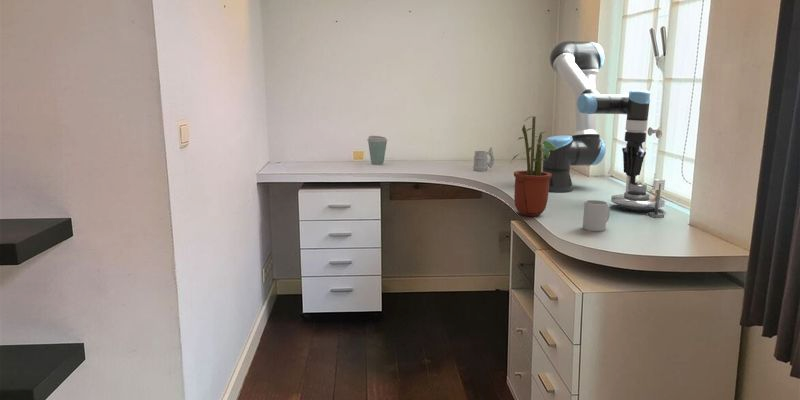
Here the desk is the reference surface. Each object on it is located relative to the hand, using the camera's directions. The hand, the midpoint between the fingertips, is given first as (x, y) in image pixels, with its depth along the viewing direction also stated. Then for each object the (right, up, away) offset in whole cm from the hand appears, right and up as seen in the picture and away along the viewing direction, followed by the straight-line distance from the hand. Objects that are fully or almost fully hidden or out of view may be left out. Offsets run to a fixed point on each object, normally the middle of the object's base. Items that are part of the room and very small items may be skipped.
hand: (629, 192), depth 238 cm
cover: (+1, -3, -5) cm, 5 cm away
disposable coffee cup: (-102, +16, +95) cm, 140 cm away
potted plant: (-43, -8, -17) cm, 46 cm away
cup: (-25, -13, -37) cm, 46 cm away
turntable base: (+1, -6, -5) cm, 8 cm away
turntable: (+1, -4, -5) cm, 7 cm away
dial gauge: (+3, -9, -17) cm, 19 cm away
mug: (-45, +12, +83) cm, 95 cm away
